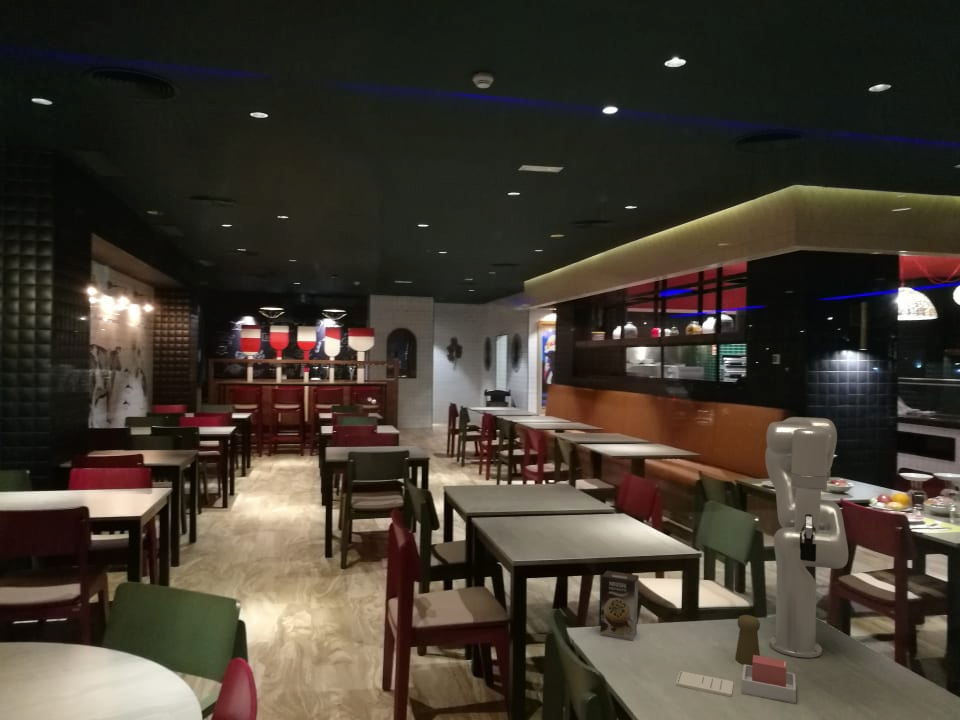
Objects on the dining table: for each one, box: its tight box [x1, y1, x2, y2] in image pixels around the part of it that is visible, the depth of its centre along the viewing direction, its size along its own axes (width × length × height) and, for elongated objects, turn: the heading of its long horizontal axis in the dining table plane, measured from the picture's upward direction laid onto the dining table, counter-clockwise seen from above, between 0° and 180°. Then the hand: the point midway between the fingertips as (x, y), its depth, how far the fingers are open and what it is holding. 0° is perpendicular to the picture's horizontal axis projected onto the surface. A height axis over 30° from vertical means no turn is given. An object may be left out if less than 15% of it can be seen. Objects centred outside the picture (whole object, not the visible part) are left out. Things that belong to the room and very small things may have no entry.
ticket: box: [675, 670, 734, 698], centre depth 157 cm, size 7×12×1 cm, turn 66°
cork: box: [734, 614, 761, 666], centre depth 171 cm, size 6×6×11 cm
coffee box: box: [600, 570, 640, 642], centre depth 187 cm, size 9×6×16 cm
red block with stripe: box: [752, 655, 787, 687], centre depth 156 cm, size 4×7×6 cm, turn 66°
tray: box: [741, 664, 797, 705], centre depth 156 cm, size 9×11×3 cm
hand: (807, 555), depth 159 cm, fingers open, 9 cm apart
